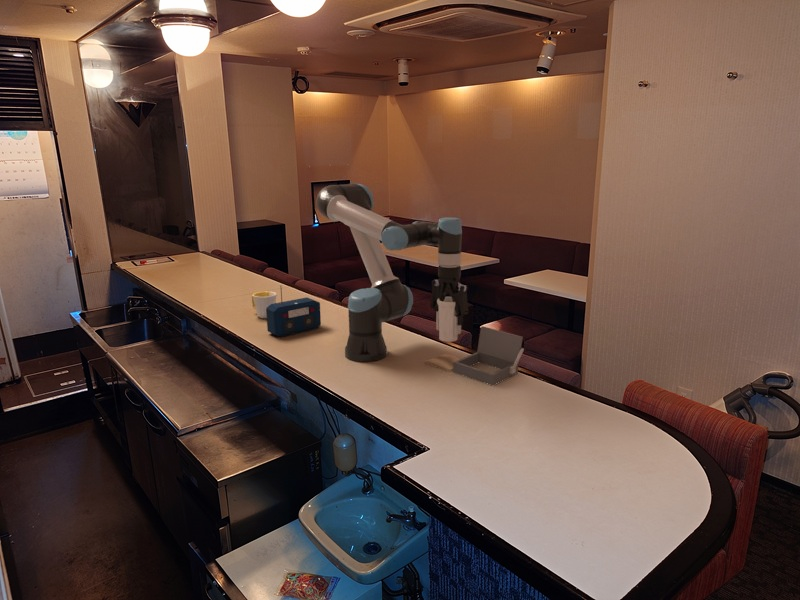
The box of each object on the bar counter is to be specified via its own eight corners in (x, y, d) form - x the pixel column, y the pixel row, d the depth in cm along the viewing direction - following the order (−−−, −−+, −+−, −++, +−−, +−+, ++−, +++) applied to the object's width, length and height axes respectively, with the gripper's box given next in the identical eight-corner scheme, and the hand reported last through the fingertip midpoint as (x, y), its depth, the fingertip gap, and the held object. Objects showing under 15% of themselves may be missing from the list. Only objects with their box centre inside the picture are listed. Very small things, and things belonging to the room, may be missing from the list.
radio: (276, 339, 213) (273, 289, 208) (266, 333, 220) (263, 285, 215) (322, 328, 226) (320, 281, 221) (311, 323, 233) (309, 278, 228)
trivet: (449, 371, 181) (449, 369, 181) (425, 363, 188) (425, 361, 188) (469, 362, 188) (470, 361, 188) (445, 354, 196) (445, 353, 196)
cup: (432, 337, 188) (433, 297, 185) (453, 334, 191) (454, 295, 187) (442, 345, 181) (443, 303, 177) (464, 342, 184) (465, 301, 180)
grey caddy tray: (496, 386, 169) (498, 349, 166) (453, 372, 180) (453, 336, 177) (523, 372, 180) (526, 337, 176) (481, 359, 191) (482, 325, 188)
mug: (281, 317, 242) (280, 294, 239) (260, 321, 236) (258, 298, 233) (267, 310, 252) (266, 288, 250) (247, 314, 246) (245, 292, 243)
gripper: (481, 267, 175) (479, 335, 181) (433, 259, 189) (433, 323, 195) (466, 271, 170) (465, 340, 176) (419, 262, 184) (419, 327, 189)
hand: (448, 331), depth 185 cm, fingers closed on cup, 7 cm apart
